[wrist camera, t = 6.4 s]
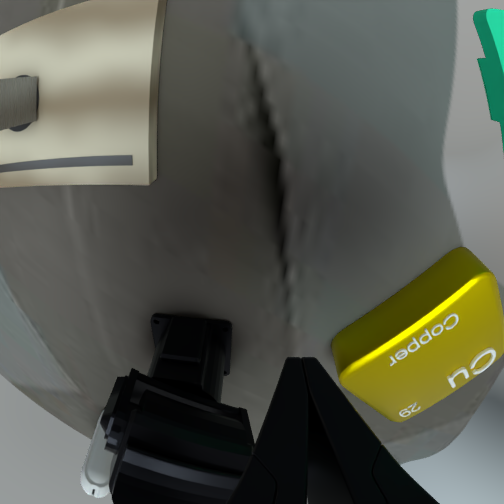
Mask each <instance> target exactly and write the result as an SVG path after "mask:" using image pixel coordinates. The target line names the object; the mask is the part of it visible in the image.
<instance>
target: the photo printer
mask: <svg viewBox="0 0 504 504" xmlns="http://www.w3.org/2000/svg"><path fill="white" fill-rule="evenodd" d="M103 412H104V410H103ZM103 412H102V413H101V415H100V417H99V420H98V423H97V426H96V429H95V432H94V435H93V438H92V441H91V444H90V447H89V450H88V453H87V456H86V459H85V463H84V465H83V467H82V471H81V479H80V480H81V485H82V487H83V489H84V491H85V492H86V493H87V494H88V495H93V496H95V497H96V498H101V497H104V496H106V495H107V494H108V493H109V492H110V489H109V476H110V466H111V461H112V458H113V455H114V453H111V452H108V451H106V450H104V448H105V444H106V441H107V440H106V439H104V436H105V433H104V431H103V429H102V427H101V425H100V420H101V417H102V414H103Z"/></svg>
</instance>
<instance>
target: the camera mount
mask: <svg viewBox="0 0 504 504" xmlns="http://www.w3.org/2000/svg"><path fill="white" fill-rule="evenodd" d="M473 21H474V24H475V27H476V30H477V32H478V35H479V38H480V41H481V44H482V47H483V51H484V54H485V57H486V58H478V59H477V61H478V65H479V68H480V72H481V76H482V80H483V84H484V88H485V93H486V97H487V102H488V107H489V112H490V118H491V120H494V121H497V122H500V126H501V132H502V141H503V151H504V10H499V9H486V10H480V11H476V12H475V13H474V15H473Z"/></svg>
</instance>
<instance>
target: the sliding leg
mask: <svg viewBox="0 0 504 504" xmlns="http://www.w3.org/2000/svg"><path fill="white" fill-rule="evenodd" d="M36 92H37V76H35V77H18V78H6V79H0V131H1V130H4V129H8V128H11V127H15V126H18V125H22V124H26V123H30V122H34V121H37V118H36Z"/></svg>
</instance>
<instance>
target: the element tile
mask: <svg viewBox="0 0 504 504" xmlns="http://www.w3.org/2000/svg"><path fill="white" fill-rule="evenodd" d="M331 348H332V352H333V356H334V361H335V365H336V369H337V374H338V378H339V382H340V384H341V385H342V386H343V387H344V388H346V389H347V390H348V391H350V392H351V393H352V394H354V395H355V396H357V397H358V398H359V399H361V400H362V401H363V402H365V403H366V404H368V405H369V406H370V407H372V408H373V409H375V410H376V411H377V412H379V413H380V414H382V415H383V416H384V417H386V418H387V419H389V420H390V421H395V422H402V421H405V420H407V419H409V418H411V417H413V416H415V415H416V414H418V413H420V412H422V411H423V410H425V409H427V408H429V407H430V406H432V405H434V404H435V403H437V402H438V401H440V400H442V399H443V398H445V397H446V396H448V395H450V394H451V393H453V392H454V391H456V390H457V389H459V388H460V387H462V386H463V385H464V384H466V383H467V382H469V381H470V380H472V379H473V378H474V377H476V376H477V375H478V374H480V373H481V372H483V371H484V370H485V369H487V368H488V367H489V366H490V365H491V364H493V363H494V362H495V361H496V360H498V359H499V358H500V357H501V356H502V355H503V354H504V316H503V310H502V304H501V299H500V294H499V289H498V285H497V280H496V278H495V276H494V274H493V273H492V272H491V271H490V270H489V269H488V268H487V267H486V266H485V265H484V264H483V263H482V262H481V261H480V260H479V259H478V258H477V257H476V256H475V255H474V254H473V253H472V252H471V251H470V250H469V249H467V248H466V247H459V248H456V249H454V250H452V251H450V252H449V253H447V254H446V255H445V256H444V257H442V258H441V259H440V260H439V261H438V262H436V263H435V264H434V265H433V266H431V267H430V268H429V269H427V270H426V271H425V272H424V273H422V274H421V275H420V276H419V277H417V278H416V279H415V280H413V281H412V282H411V283H409V284H408V285H407V286H405V287H404V288H403V289H401V290H400V291H399V292H397V293H396V294H394V295H393V296H392V297H390V298H389V299H387V300H386V301H385V302H383V303H382V304H380V305H379V306H377V307H376V308H375V309H373V310H372V311H370V312H369V313H367V314H366V315H364V316H363V317H361V318H360V319H358V320H357V321H355V322H354V323H352V324H351V325H349V326H348V327H346V328H344V329H343V330H342V331H340V332H339V333H338V334H337V335H336V336H335V338H334V339H333V340H332V344H331Z"/></svg>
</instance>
